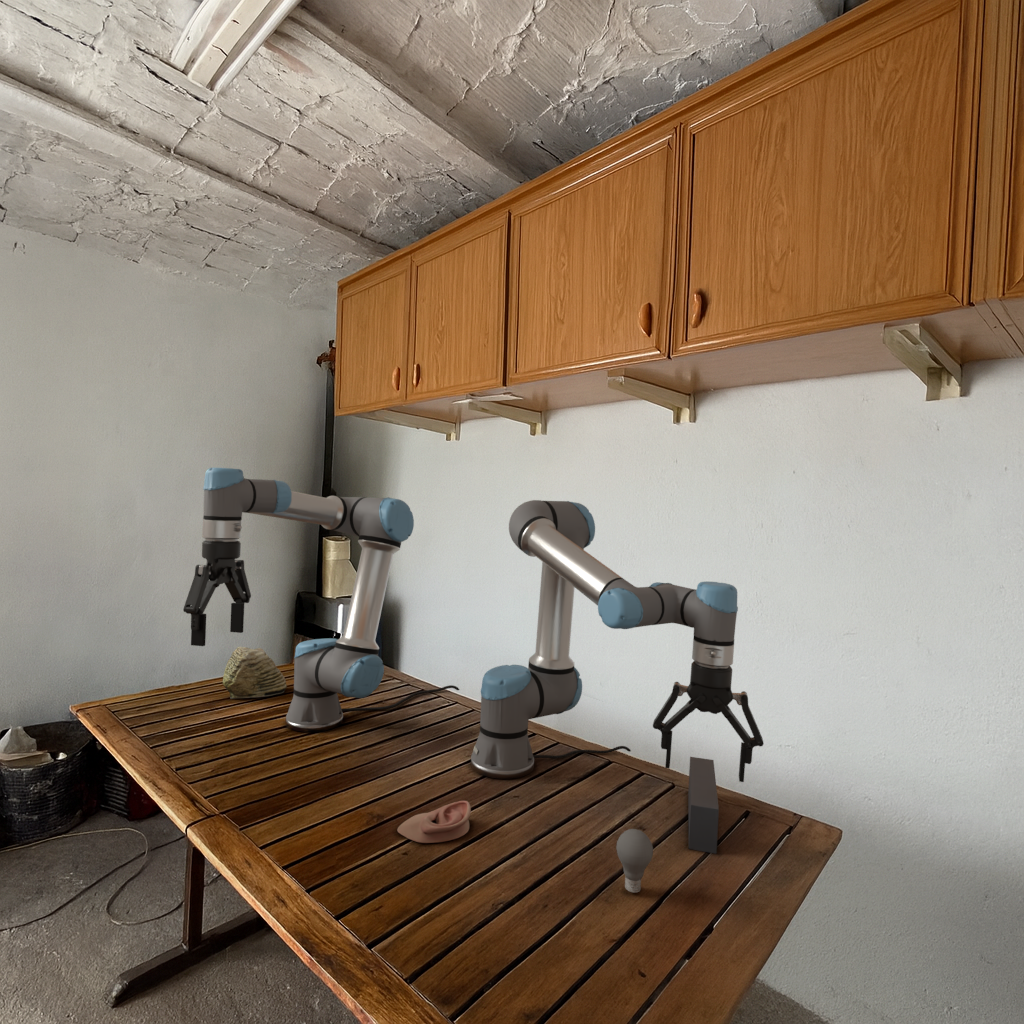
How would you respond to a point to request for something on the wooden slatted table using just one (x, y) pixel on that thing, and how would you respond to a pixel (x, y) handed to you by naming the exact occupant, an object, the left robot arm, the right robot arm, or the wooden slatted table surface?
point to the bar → (702, 806)
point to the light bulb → (634, 857)
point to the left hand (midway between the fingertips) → (218, 638)
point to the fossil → (252, 674)
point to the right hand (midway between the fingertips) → (703, 772)
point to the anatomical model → (438, 824)
